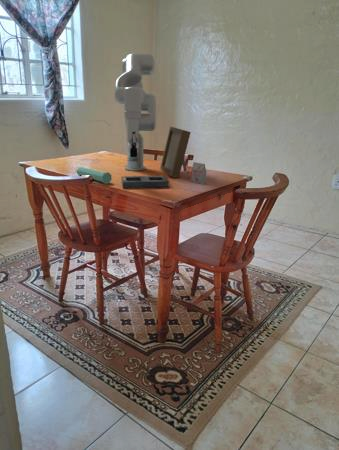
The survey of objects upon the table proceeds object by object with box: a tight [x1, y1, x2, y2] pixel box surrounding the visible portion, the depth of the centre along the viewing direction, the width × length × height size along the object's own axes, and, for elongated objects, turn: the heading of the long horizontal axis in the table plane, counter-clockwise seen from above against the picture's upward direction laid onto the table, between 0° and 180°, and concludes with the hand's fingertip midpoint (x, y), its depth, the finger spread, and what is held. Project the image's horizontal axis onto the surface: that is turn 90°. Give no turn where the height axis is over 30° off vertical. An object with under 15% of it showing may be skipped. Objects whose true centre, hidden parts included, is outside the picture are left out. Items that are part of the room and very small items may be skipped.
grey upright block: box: [190, 161, 207, 185], centre depth 180 cm, size 4×7×10 cm, turn 48°
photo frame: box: [160, 126, 191, 179], centre depth 197 cm, size 15×22×25 cm
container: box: [76, 166, 113, 185], centre depth 181 cm, size 6×6×25 cm
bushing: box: [128, 143, 139, 161], centre depth 167 cm, size 5×5×8 cm
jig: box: [121, 175, 170, 189], centre depth 173 cm, size 12×22×3 cm, turn 100°
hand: (133, 155), depth 167 cm, fingers closed on bushing, 5 cm apart
